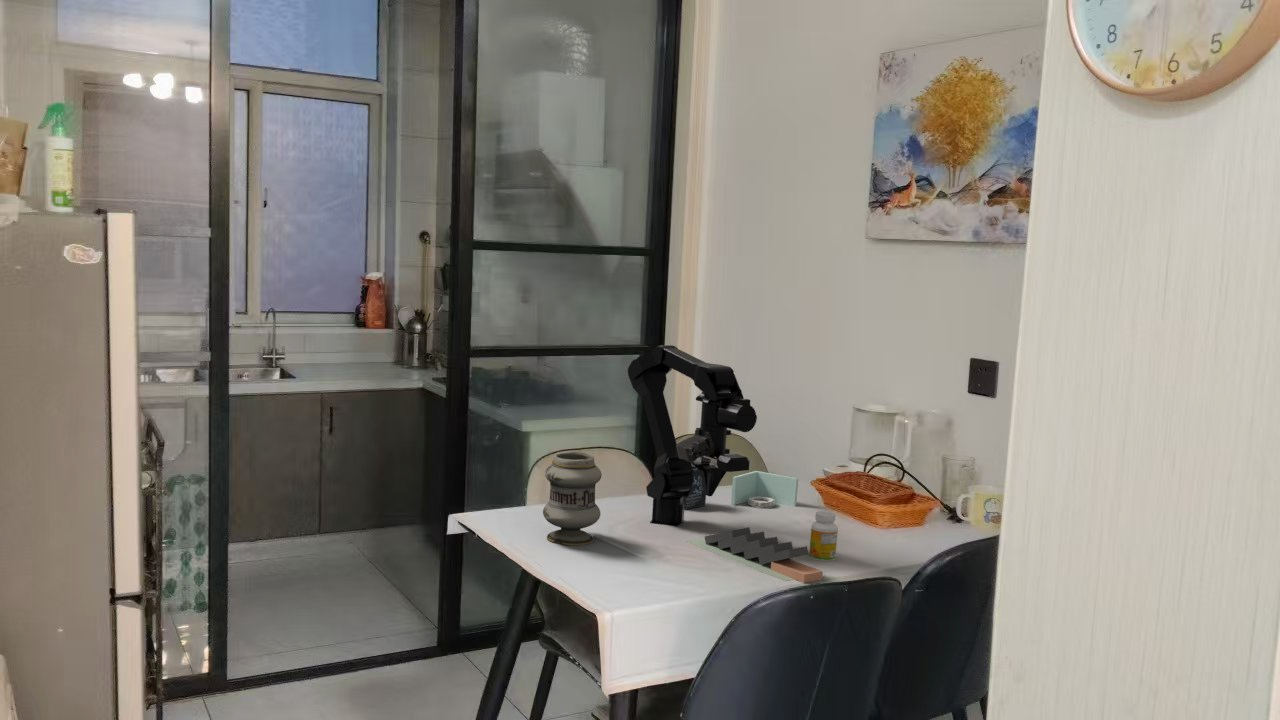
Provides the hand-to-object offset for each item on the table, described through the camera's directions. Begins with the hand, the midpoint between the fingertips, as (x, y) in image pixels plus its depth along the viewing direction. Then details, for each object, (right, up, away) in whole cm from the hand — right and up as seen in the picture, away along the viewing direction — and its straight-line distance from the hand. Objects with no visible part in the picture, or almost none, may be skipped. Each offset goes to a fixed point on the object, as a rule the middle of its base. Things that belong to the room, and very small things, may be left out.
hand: (709, 495), depth 227 cm
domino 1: (+1, -9, -3) cm, 9 cm away
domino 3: (+6, -10, -10) cm, 15 cm away
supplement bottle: (+23, -12, -9) cm, 27 cm away
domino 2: (+3, -9, -7) cm, 12 cm away
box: (-3, -7, +31) cm, 31 cm away
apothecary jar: (-30, -9, -5) cm, 31 cm away
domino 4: (+8, -10, -13) cm, 19 cm away
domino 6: (+13, -11, -19) cm, 26 cm away
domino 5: (+11, -11, -17) cm, 22 cm away
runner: (+8, -11, -13) cm, 19 cm away
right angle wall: (+16, -8, +36) cm, 40 cm away
